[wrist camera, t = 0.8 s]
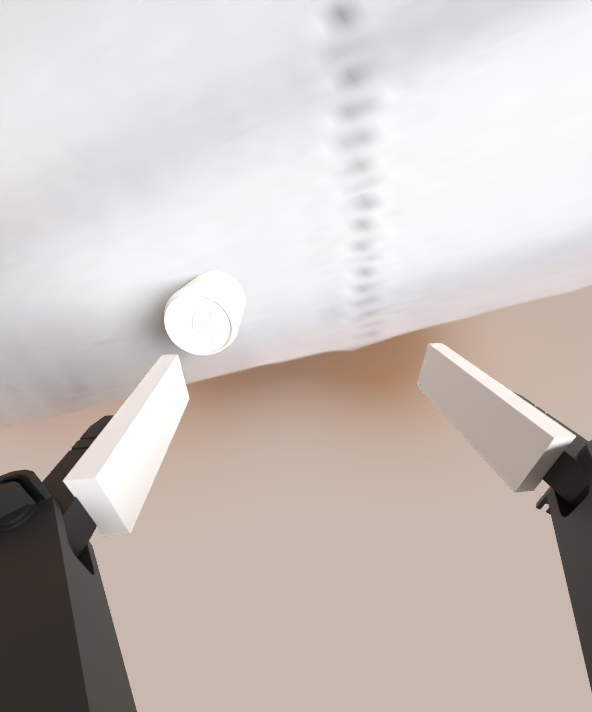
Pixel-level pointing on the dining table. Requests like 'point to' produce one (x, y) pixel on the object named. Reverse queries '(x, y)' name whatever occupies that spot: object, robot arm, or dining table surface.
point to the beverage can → (205, 313)
